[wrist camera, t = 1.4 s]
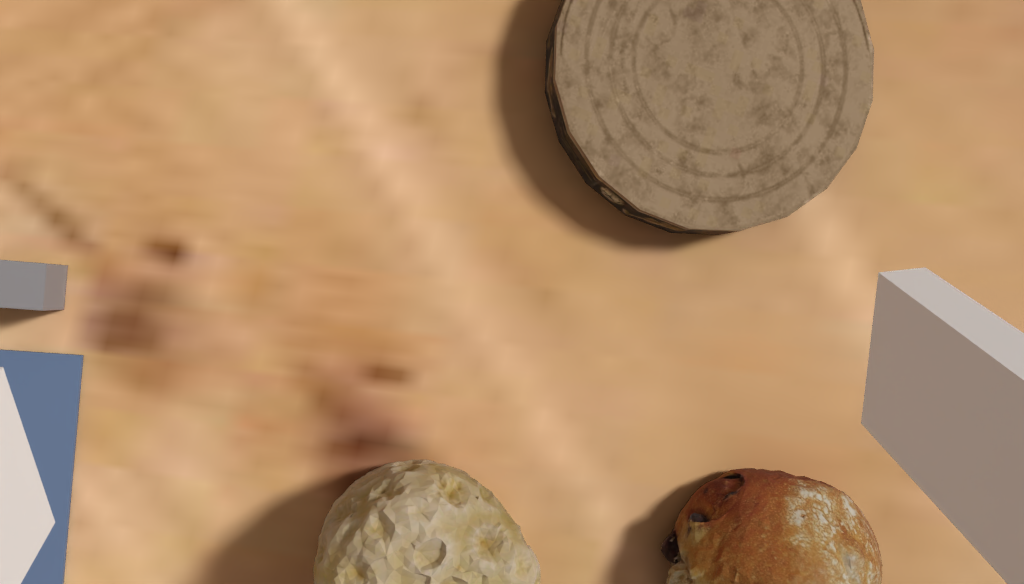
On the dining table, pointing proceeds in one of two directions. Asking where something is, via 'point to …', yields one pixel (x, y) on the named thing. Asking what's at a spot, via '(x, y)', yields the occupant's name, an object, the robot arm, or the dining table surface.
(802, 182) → the round stone disc
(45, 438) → the blue flat square slab
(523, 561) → the coral
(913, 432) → the robot arm
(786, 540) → the bread roll
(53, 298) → the wall
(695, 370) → the dining table surface
